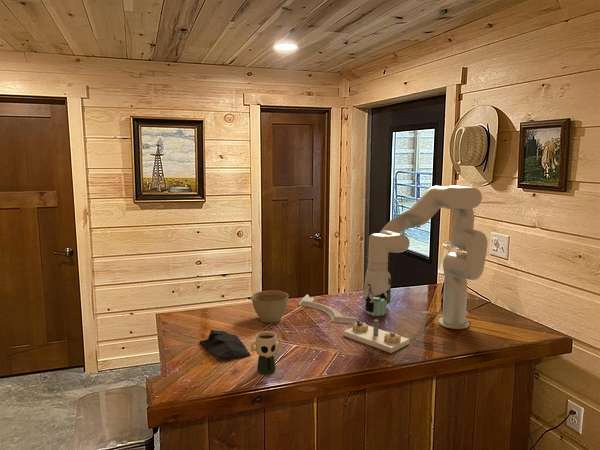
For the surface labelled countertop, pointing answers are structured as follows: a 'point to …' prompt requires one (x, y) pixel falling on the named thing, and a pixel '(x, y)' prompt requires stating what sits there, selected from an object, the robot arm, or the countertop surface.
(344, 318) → the molding
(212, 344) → the dark slate chunk
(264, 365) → the character mug
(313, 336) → the countertop surface
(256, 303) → the planter bowl
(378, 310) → the loose gear
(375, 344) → the gear board
